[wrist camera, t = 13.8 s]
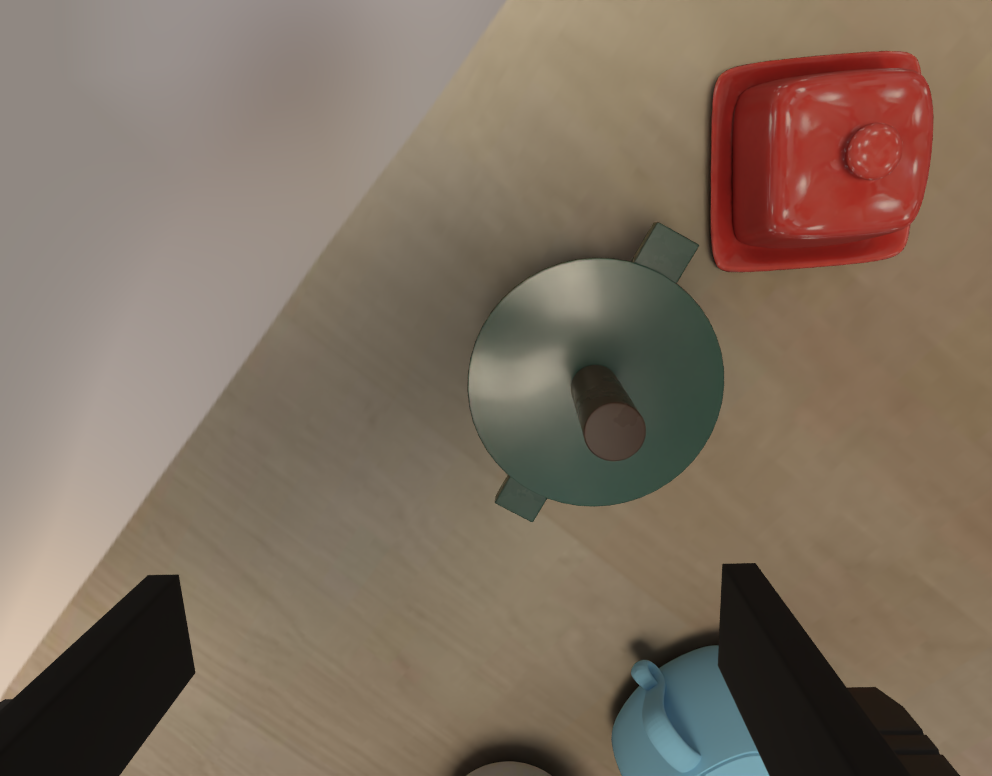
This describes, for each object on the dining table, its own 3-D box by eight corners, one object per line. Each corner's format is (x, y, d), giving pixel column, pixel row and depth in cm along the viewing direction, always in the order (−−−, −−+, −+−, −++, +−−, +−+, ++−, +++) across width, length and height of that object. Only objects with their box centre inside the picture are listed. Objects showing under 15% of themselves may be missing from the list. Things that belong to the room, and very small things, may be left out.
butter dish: (897, 260, 38) (999, 266, 30) (704, 273, 39) (751, 283, 31) (911, 53, 36) (1027, -3, 27) (704, 72, 36) (756, 23, 28)
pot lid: (427, 428, 34) (395, 491, 25) (544, 209, 31) (551, 199, 23) (634, 537, 35) (669, 632, 26) (766, 333, 32) (853, 368, 23)
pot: (439, 424, 42) (417, 469, 34) (566, 187, 38) (576, 173, 30) (591, 503, 43) (606, 567, 35) (730, 280, 39) (784, 291, 31)
